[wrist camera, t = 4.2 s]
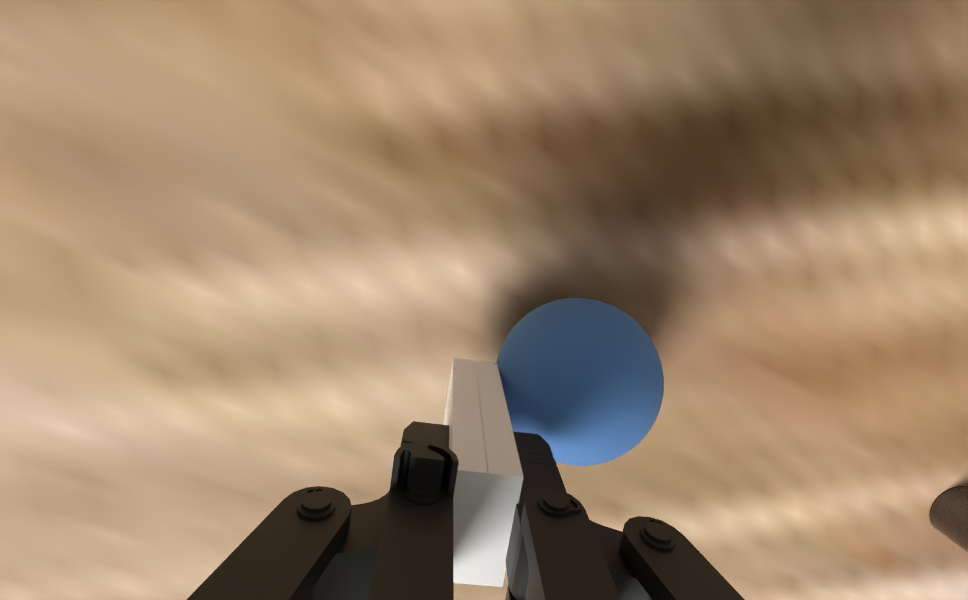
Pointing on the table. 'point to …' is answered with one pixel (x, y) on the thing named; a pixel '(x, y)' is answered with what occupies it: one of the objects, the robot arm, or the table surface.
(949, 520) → the post
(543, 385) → the ball
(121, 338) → the table surface
